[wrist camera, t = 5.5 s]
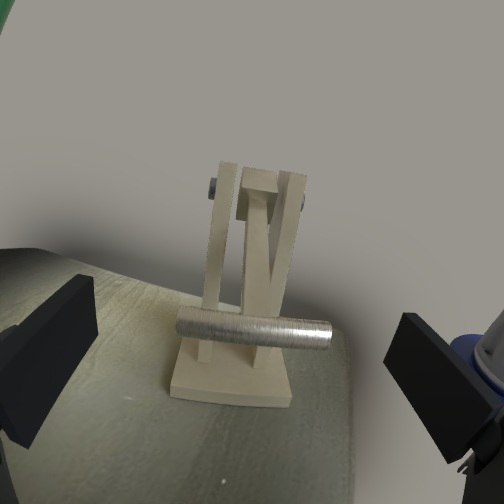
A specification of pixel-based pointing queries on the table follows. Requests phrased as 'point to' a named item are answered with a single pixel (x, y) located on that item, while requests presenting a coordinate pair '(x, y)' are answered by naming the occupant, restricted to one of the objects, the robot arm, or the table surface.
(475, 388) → the robot arm
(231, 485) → the table surface
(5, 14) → the lamp
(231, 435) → the table surface
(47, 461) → the table surface
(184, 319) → the switch
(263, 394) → the beige wooden upright stand
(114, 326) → the table surface
